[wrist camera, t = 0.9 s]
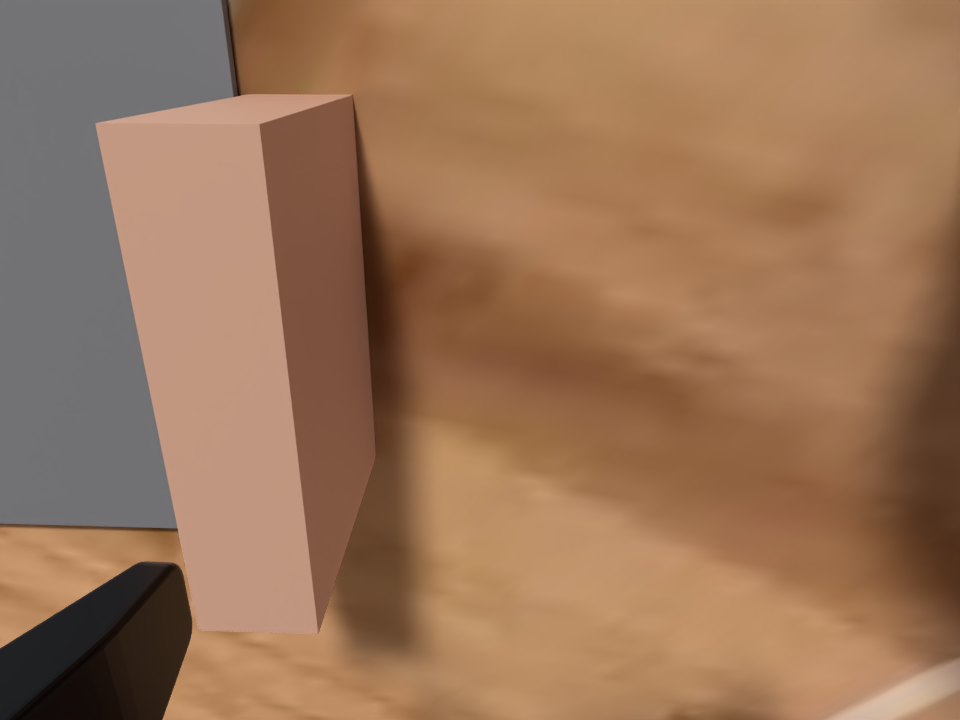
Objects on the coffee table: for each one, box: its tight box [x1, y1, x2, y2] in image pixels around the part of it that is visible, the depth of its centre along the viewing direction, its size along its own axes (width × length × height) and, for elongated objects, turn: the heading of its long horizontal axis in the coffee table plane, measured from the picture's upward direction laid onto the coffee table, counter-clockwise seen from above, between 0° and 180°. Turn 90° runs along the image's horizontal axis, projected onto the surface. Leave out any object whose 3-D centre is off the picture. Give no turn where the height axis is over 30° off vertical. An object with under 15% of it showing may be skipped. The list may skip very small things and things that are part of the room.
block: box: [95, 94, 376, 634], centre depth 16 cm, size 2×10×7 cm, turn 0°
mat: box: [0, 0, 238, 528], centre depth 19 cm, size 12×15×1 cm
